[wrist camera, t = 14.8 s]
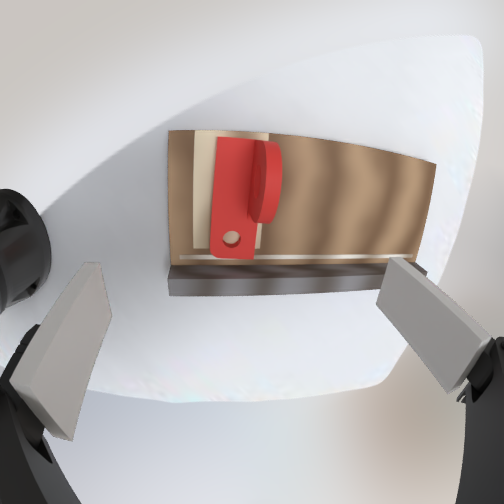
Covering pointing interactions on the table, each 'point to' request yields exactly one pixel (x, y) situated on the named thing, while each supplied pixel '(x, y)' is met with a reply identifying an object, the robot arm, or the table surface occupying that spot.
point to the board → (299, 218)
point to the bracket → (243, 193)
